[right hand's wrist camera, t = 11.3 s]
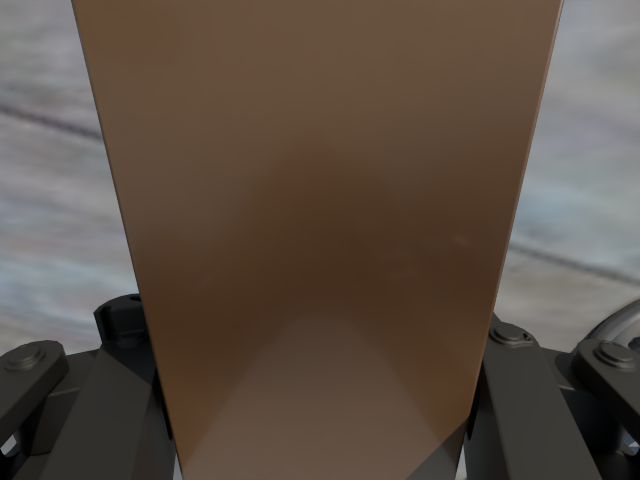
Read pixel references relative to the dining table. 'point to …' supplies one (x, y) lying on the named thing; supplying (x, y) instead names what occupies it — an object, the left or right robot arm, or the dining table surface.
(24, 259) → the dining table surface
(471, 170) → the bar
